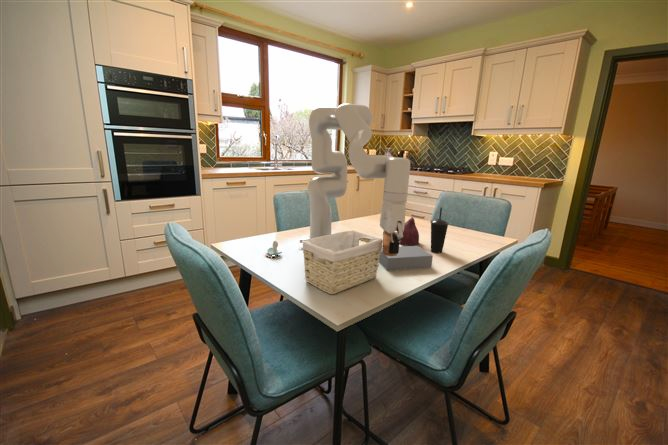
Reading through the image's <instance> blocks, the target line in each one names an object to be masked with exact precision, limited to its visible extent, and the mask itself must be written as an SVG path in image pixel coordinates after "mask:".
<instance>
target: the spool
mask: <svg viewBox="0 0 668 445" xmlns="http://www.w3.org/2000/svg"><path fill="white" fill-rule="evenodd" d="M394 233H397V231H395V232H394ZM395 236H397V235H394V237H395ZM382 240H383V239H382ZM390 242H391V234H389V233H387V232H384V240H383V242H382V245H383V247H382V248H383V252H382V253H383V254H384V255H387V256H396V255H397V254H390V253H389V244H390Z"/></svg>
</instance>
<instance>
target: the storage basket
mask: <svg viewBox="0 0 668 445" xmlns="http://www.w3.org/2000/svg"><path fill="white" fill-rule="evenodd" d="M360 242H363V243H364V244H360ZM382 245H383V238H380V237H376V236H373V235H371V234H367V233H363V232H359V231H356V230H347V231H346V230H345V231H340V232H335V233H331V234H330V235H326V236H321V237H316V238H312V239H309V240H306V241H304V242H303V243H302V253H303V261H304V262H303V263H304V265H303V266H304V274H305V275H304V276H305V278H304V279H305V281H306V282H307V283H309V284H310V285H312V286H314V287H316V288H317V289H319V290H321V291H323V292H325V293H328V294H329V295H335V294H339V293H340V292H342V291H344V290H348V289H350V288H353V287H355V286H359V285H361V284H363V283H366V282H367V281H371V280H373V279H375V278H377V275H378V274H377V273H378V268H379V264H380V262H379V258H380V252H381V249H382V248H383V247H382Z"/></svg>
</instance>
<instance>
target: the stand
mask: <svg viewBox="0 0 668 445" xmlns="http://www.w3.org/2000/svg"><path fill="white" fill-rule="evenodd" d="M382 252H383V247H382V249H381V252H380V258H379V264H380V265H381V266H382V267H383V269H385V270H386V271H388V272H391V271H403V270H404V271H407V270H420V269H431V268H432V265H433V255H432V254H431V253H430V252H428V251H427V250H425V249H424V248H423V247H420V246H419V245H416V246H406V245H402V246H399V253H398V254H397V255H396V256H387V255H384V254H383V253H382Z"/></svg>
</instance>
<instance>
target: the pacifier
mask: <svg viewBox="0 0 668 445" xmlns="http://www.w3.org/2000/svg"><path fill="white" fill-rule="evenodd" d="M278 247H279V243H278V241H277V240H274V241H273V242H272V247H269V248H268V249H267V252H266V253H265V256H266V257H267V256H268V257H267V258H269V257H275V258H277V257H278V256H279V255H280V254H282V253H283V252H282V251H279V250H278V249H277V248H278ZM271 255H275V256H271ZM277 255H278V256H277ZM276 256H277V257H276Z"/></svg>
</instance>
